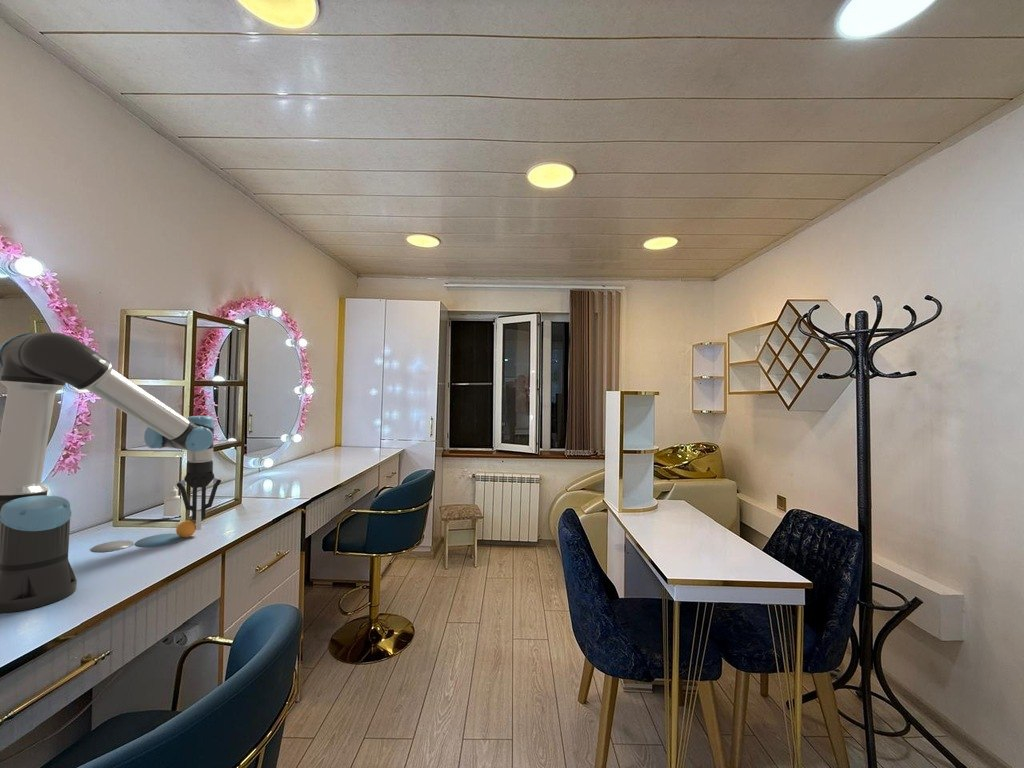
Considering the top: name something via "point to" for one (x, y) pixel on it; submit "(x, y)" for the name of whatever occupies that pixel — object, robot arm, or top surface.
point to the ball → (186, 529)
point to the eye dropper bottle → (172, 503)
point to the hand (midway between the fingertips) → (198, 528)
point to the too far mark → (112, 546)
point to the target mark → (159, 540)
